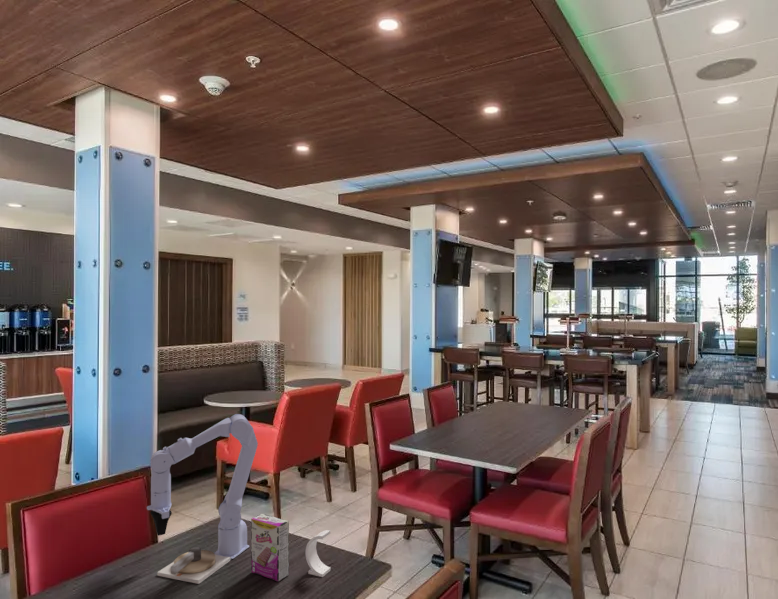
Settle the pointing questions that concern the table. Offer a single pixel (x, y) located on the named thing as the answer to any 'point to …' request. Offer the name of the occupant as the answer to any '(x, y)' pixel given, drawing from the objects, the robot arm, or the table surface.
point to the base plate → (194, 577)
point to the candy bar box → (270, 547)
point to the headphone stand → (316, 556)
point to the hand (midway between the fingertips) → (161, 534)
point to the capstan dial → (193, 561)
